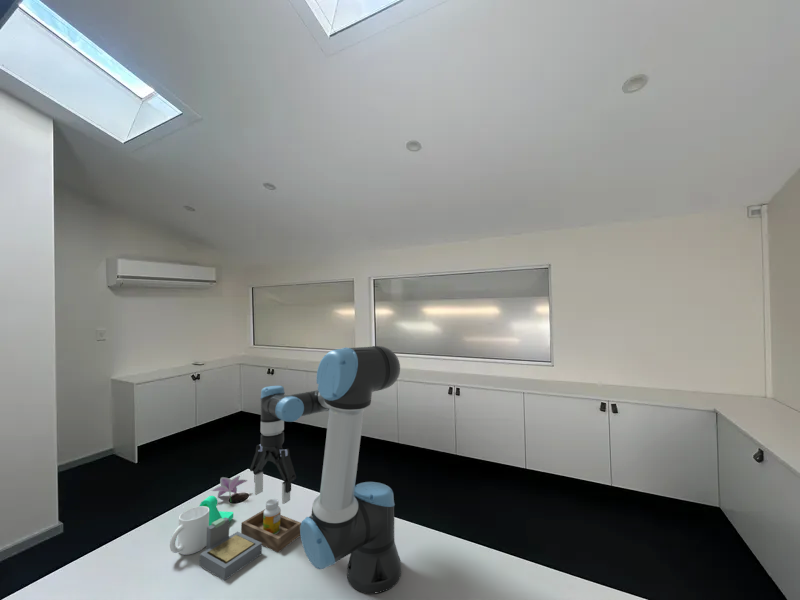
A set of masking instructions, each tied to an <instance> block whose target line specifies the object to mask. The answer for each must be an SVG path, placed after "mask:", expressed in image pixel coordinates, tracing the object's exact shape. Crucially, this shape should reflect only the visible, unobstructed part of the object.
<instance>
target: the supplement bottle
mask: <svg viewBox="0 0 800 600" xmlns="http://www.w3.org/2000/svg"><path fill="white" fill-rule="evenodd" d="M263 510H264V509H263ZM281 511H282V510H281V507H280V506H279V500H278V499H277V498H272V499H267V501H265V510H264V514H263V530H265V531H268V532H270V533H272V534H275V535H276V534H278V533H279V531H280V515H282V513H281Z"/></svg>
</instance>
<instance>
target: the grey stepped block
mask: <svg viewBox="0 0 800 600" xmlns="http://www.w3.org/2000/svg"><path fill="white" fill-rule="evenodd" d="M235 535H237V536H239V537H242V538H244V539H246V540H248V541H250V542H252V543H254V546H252V547H251V548H249V549H248V550H246V551H245V552H243V553H242V554H240V555H239V556H237V557H236V558H234V559H233V560H231V561H230V562H228V563H227V564H225V563H224V562H222V561H220V560H218V559H217V558H215V557H213V556H211V555H209V551H210V550H212V549H214V548H215V547H217V546H219V545H220V544H222V543H224V542H225V541H227V540H228V539H230V538H232V537H233V536H235ZM262 553H263V545H262V543H261V542H259V541H257V540H255V539H253V538H250V537H248V536H246V535H244V534H242V533H241V531H240V532H239V531H236V532H235V533H233V534H231V535H230V521H229V519H228V518H226V517H225V518H223V519H222V518H220V519H218V520H216V521H214V522H213V523H212V525H210V526H208V527H207V539H206V546H205V550H204V551H202V552H201V553H199V566H200V567H201V568H202V569H204V570H206V571H208V572H210V573H211V574H213V575H214V576H216V577H218V578H219V579H221V580H223V581H226V580H227V579H229V578H230V577H231V576H233V575H234V574H236V573H237V572H238V571H240V570H241V569H243V568H244V567H245V566H248V564H249V563H251V562H253V561H254V560H256V558H258V557H260V556H261V555H263V554H262Z"/></svg>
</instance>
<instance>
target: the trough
mask: <svg viewBox="0 0 800 600" xmlns="http://www.w3.org/2000/svg"><path fill="white" fill-rule="evenodd" d="M265 509H266V508H265ZM265 509H263V510H260V511H259V512H258V513H256V514H254V515H253V516H251V517H249V518H247V519H245V520H244V521H242V522H241V524H240V525H241V528H240V529H241V530H240V533H242V534H244V535H246V536H248V537H250V538H253V539H255V540H257V541H259V542H261V543H262V547H265V548H267V549H269V550H271V551H273V552H276V553H279V552H281V551H282V550H284V549H285V548H286V547H288V546H289V545H290V544H291V543H293V542H295V541H296V540H297V539H298V538H301V535H300V526H301V522H302V521H298V520H296V519H292V518H290V517H287V516H285V515H283V514H281V515H280V531H279V533H278V534H276V535H275V534H272V533H270V532H268V531H265V530H263V514H264V510H265Z"/></svg>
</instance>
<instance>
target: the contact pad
mask: <svg viewBox="0 0 800 600" xmlns="http://www.w3.org/2000/svg"><path fill="white" fill-rule="evenodd" d="M252 546H254V543H252V542H250V541H248V540H246V539H244V538H242V537H239V536H237V535H235V536H233V537H232V538H230V539H228V540H227V541H225V542H224V543H222V544H220V545H219V546H217V547H215V548H214V549H212V550H210V551H209V555H211V556H213V557H215V558H217V559H218V560H220V561H222V562H224V563H225V564H227V563H228V562H230V561H231V560H233V559H234V558H236V557H237V556H239V555H240V554H242V553H243V552H245V551H246V550H248V549H249V548H251V547H252Z"/></svg>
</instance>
